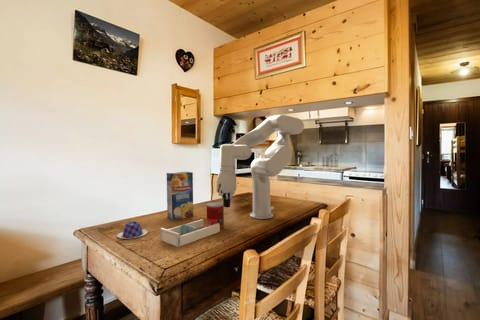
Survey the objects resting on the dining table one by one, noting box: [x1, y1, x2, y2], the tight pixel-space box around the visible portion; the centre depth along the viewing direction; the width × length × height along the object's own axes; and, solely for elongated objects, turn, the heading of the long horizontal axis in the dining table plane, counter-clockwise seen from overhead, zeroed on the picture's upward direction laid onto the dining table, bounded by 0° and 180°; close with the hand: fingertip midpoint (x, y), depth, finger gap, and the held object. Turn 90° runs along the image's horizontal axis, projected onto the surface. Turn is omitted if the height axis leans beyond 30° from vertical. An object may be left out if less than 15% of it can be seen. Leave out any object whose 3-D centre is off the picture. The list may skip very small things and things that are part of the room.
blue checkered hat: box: [116, 221, 149, 240], centre depth 104 cm, size 12×12×5 cm
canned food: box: [206, 201, 225, 230], centre depth 112 cm, size 8×8×11 cm
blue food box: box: [166, 171, 194, 221], centre depth 131 cm, size 12×8×24 cm, turn 126°
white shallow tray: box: [160, 218, 221, 248], centre depth 102 cm, size 22×12×5 cm, turn 140°
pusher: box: [181, 223, 197, 235], centre depth 100 cm, size 2×9×4 cm, turn 50°
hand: (226, 206), depth 119 cm, fingers closed
